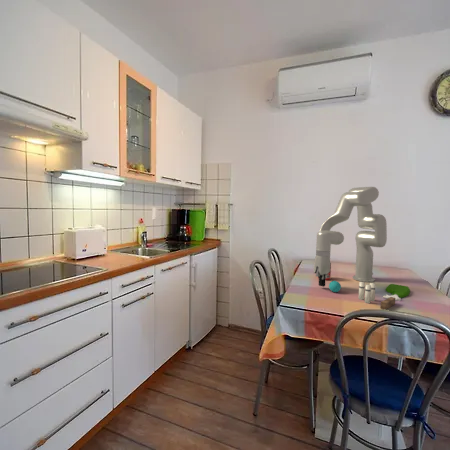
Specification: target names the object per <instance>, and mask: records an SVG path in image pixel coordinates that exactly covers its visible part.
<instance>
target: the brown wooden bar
mask: <svg viewBox="0 0 450 450" xmlns="http://www.w3.org/2000/svg"><path fill="white" fill-rule="evenodd" d="M395 305H396V300H395V298H393V297H389V298H388V299H387V298H385V299H383V300H382V301H380V308H381V309H380V310H384V309H386V310H387V308H388V309H389V308H391V307H393V306H395Z"/></svg>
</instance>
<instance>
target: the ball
mask: <svg viewBox="0 0 450 450" xmlns="http://www.w3.org/2000/svg"><path fill="white" fill-rule="evenodd" d="M328 289H329V290H330V291H331V292H332V293H338V292H340V290H341V289H342V286H341V283H340V282H339V281H337V280H332V281H330V282H329V284H328Z"/></svg>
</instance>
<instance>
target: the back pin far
mask: <svg viewBox="0 0 450 450" xmlns="http://www.w3.org/2000/svg"><path fill="white" fill-rule="evenodd" d="M369 285H371V299H370V302H375V300H376V283H374V282H369Z"/></svg>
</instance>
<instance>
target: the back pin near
mask: <svg viewBox="0 0 450 450" xmlns="http://www.w3.org/2000/svg"><path fill="white" fill-rule="evenodd" d="M370 299H371V285H370V284H366V283H365V289H364V303H365V304H370V303H371V301H370Z"/></svg>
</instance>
